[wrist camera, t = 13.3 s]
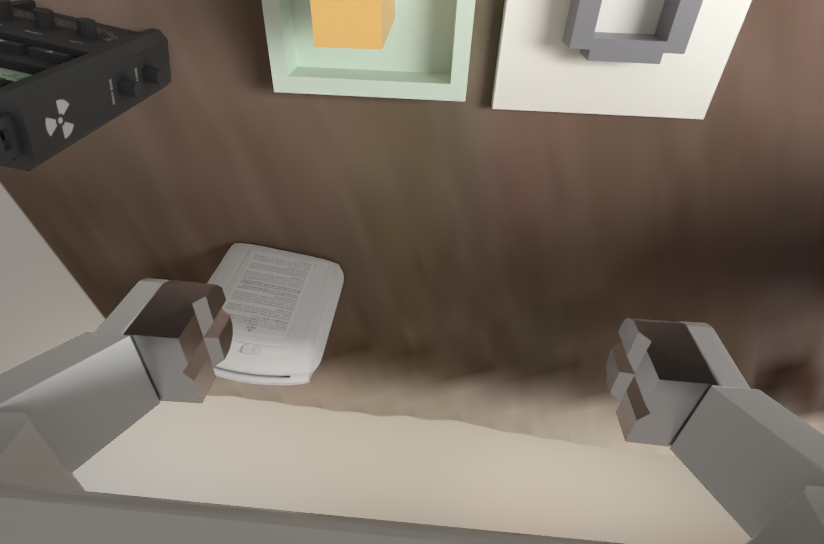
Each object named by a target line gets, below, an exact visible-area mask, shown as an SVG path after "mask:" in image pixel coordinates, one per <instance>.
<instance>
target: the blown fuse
mask: <svg viewBox="0 0 824 544" xmlns="http://www.w3.org/2000/svg"><path fill="white" fill-rule="evenodd" d="M310 6H311V17H312V28H313V39H314V47H328V48H353V49H379V50H382V48H383V46H384V43H385V41H386V39H387V37H388V34H389V32H390V30H391V27H392V25H393V23H394V21H395V0H310Z"/></svg>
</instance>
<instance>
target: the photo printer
mask: <svg viewBox="0 0 824 544" xmlns="http://www.w3.org/2000/svg"><path fill="white" fill-rule="evenodd" d="M343 282H344V274H343V272H342V270H341V268H340V266H339V265H338V264H337V263H334V262H331V261H329V260H325V259H321V258H316V257H312V256H308V255H303V254H298V253H294V252H289V251H284V250H279V249H274V248H269V247H265V246H259V245H253V244H246V243H234V244H233V245H232V246H231V247H230V249H229V250H228V252H227V253H226V255H225V256H224V258H223V259H222V261H221V263H220V264H219V266H218V267H217V269H216V270H215V272H214V273H213V275H212V276H211V278H210V279H209V281H208V282H207V284H215V285H218V286H220V287H222V288H223V292H224V295H225V298H226V301H225V303H224V305H223V306H222V309H223V310H224V311H225V312H227V313H228V314H229V315H230V316H231V321H232V325H233V337H232V342H231V346H230V350H229V352H228V354H227V356H226V358H225V360H224V361H222V362H221V363H219V364H218V365H216V366H215V367H213V369H214V372H215V375H216V376H217V377H221V378H225V379H229V380H233V381H238V382H243V383H250V384H259V385H298V384H305V383H309V382H310V380H311V377H312V374H313V372H314V371H315V370H316V369H317V367H318V366H319V364H320V362H321V359H322V356H323V353H324V349H325V346H326V342H327V339H328V335H329V332H330V328H331V325H332V321H333V318H334V314H335V311H336V307H337V304H338V300H339V297H340V293H341V290H342V286H343Z"/></svg>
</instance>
